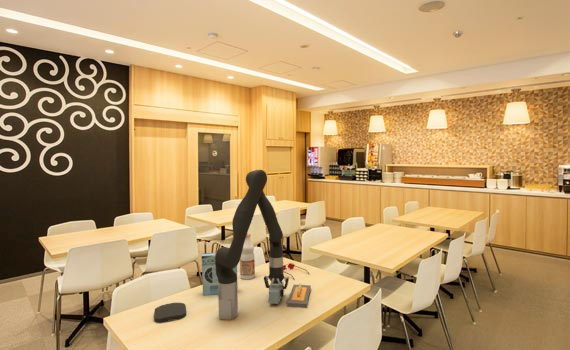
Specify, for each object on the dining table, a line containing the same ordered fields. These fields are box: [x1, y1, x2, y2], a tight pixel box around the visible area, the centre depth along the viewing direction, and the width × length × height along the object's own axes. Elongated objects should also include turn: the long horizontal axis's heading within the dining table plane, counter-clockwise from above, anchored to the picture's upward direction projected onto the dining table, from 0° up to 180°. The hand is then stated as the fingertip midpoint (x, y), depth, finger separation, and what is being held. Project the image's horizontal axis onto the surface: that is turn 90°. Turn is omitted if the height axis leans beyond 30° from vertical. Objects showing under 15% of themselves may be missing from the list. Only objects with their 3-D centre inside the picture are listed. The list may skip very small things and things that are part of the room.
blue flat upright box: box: [201, 252, 239, 296], centre depth 182 cm, size 20×5×23 cm, turn 98°
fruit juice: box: [239, 233, 256, 281], centre depth 205 cm, size 9×9×28 cm
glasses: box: [283, 262, 310, 281], centre depth 211 cm, size 14×16×5 cm
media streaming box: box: [153, 302, 187, 324], centre depth 157 cm, size 15×15×3 cm
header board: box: [286, 283, 312, 309], centre depth 175 cm, size 24×10×6 cm, turn 170°
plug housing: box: [268, 281, 285, 305], centre depth 174 cm, size 21×5×6 cm, turn 169°
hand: (276, 295), depth 171 cm, fingers closed on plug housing, 5 cm apart
